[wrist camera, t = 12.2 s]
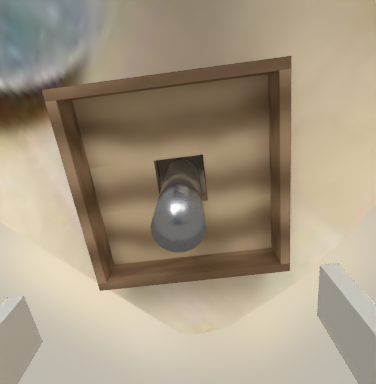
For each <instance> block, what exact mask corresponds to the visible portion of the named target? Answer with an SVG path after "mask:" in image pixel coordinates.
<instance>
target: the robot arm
mask: <svg viewBox="0 0 376 384" xmlns="http://www.w3.org/2000/svg"><path fill="white" fill-rule="evenodd" d="M317 315H318V317H319V319H320V320H321V322H322V324H323V325H324V327H325V329H326V330H327V332H328V334H329V335H330V337H331V339H332V340H333V342H334V343H335V345H336V347H337V349H338V350H339V352H340V354H341V355H342V357H343V359H344V360H345V362H346V364H347V365H348V367H349V369H350V370H351V372H352V374H353V375H354V377H355V379H356V380H357V382H358V384H376V304H375V303H374V302H373V301H372V300H371V299H370V297H369V296H368V295H367V294H366V293H365V292H364V291H363V290H362V289H361V288H360V287H359V285H358V284H357V283H356V282H355V281H354V280H353V279H352V278H351V277H350V276H349V275H348V273H347V272H346V271H345V270H344V269H343V268H342V267H341V266H340V265H339V264H338V263H335V264H325V265H320V275H319V293H318V312H317ZM42 342H43V341H42V339H41V337H40V334H39V332H38V329H37V327H36V324H35V322H34V320H33V317H32V315H31V312H30V310H29V308H28V305H27V303H26V301H25V298H24V296H20V297H10V298H6V300H5V301H4V302H3V303H2V304H1V305H0V384H18V382H19V381H20V379H21V377H22V376H23V374H24V372H25V371H26V369H27V367H28V365H29V364H30V362H31V360H32V359H33V357H34V355H35V354H36V352H37V350H38V349H39V347H40V345H41V344H42Z"/></svg>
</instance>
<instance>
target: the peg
mask: <svg viewBox="0 0 376 384" xmlns="http://www.w3.org/2000/svg"><path fill="white" fill-rule="evenodd" d="M205 232H206V223H205V216H204V209H203V203H202V196H201V189H200V182H199V175H198V170H197V168H196V166H195V165H194V164H193V163H192V162H190V161H188V160H183V159H181V160H176V161H174V162H172V163H171V164H170V165H169V166H168V168H167V171H166V174H165V177H164V181H163V184H162V188H161V191H160V194H159V198H158V201H157V204H156V208H155V211H154V215H153V218H152V221H151V233H152V236H153V238H154V240H155V241H156V243H157V244H158V245H159V246H161V247H162V248H164V249H165V250H168V251H171V252H186V251H189V250H192V249H194V248H195V247H197V246H198V245H199V244H200V243H201V241H202V240H203V238H204V236H205Z"/></svg>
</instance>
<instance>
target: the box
mask: <svg viewBox="0 0 376 384" xmlns="http://www.w3.org/2000/svg"><path fill="white" fill-rule="evenodd" d="M42 93H43V96H44V100H45V103H46V107H47V110H48V114H49V117H50V120H51V124H52V127H53V131H54V134H55V138H56V141H57V145H58V148H59V151H60V155H61V158H62V162H63V165H64V169H65V172H66V176H67V179H68V182H69V186H70V189H71V193H72V196H73V200H74V203H75V206H76V210H77V213H78V217H79V220H80V224H81V227H82V231H83V234H84V237H85V241H86V244H87V248H88V251H89V255H90V258H91V261H92V265H93V268H94V272H95V275H96V279H97V282H98V286H99V289H100V290H111V289H120V288H130V287H140V286H149V285H159V284H168V283H178V282H187V281H197V280H206V279H216V278H226V277H235V276H245V275H254V274H264V273H273V272H283V271H290V166H291V56H288V57H280V58H273V59H266V60H258V61H251V62H244V63H236V64H229V65H222V66H214V67H207V68H200V69H192V70H185V71H178V72H170V73H163V74H156V75H148V76H141V77H134V78H126V79H119V80H112V81H104V82H97V83H90V84H82V85H75V86H68V87H60V88H53V89H46V90H42ZM195 155H202V156H203V165H204V175H205V184H206V193H207V194H201V196H202V203H203V209H204V216H205V223H206V232H205V236H204V238H203V240H202V241H201V243H200V244H199V245H198V246H197V247H195V248H194V249H192V250H189V251H186V252H171V251H168V250H165V249H164V248H162V247H161V246H159V245H158V244H157V243H156V241H155V240H154V238H153V236H152V233H151V221H152V218H153V215H154V211H155V208H156V204H157V201H158V198H159V194H160V191H161V182H160V176H159V170H158V164H157V160H163V159H171V158H179V157H187V156H195Z"/></svg>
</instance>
